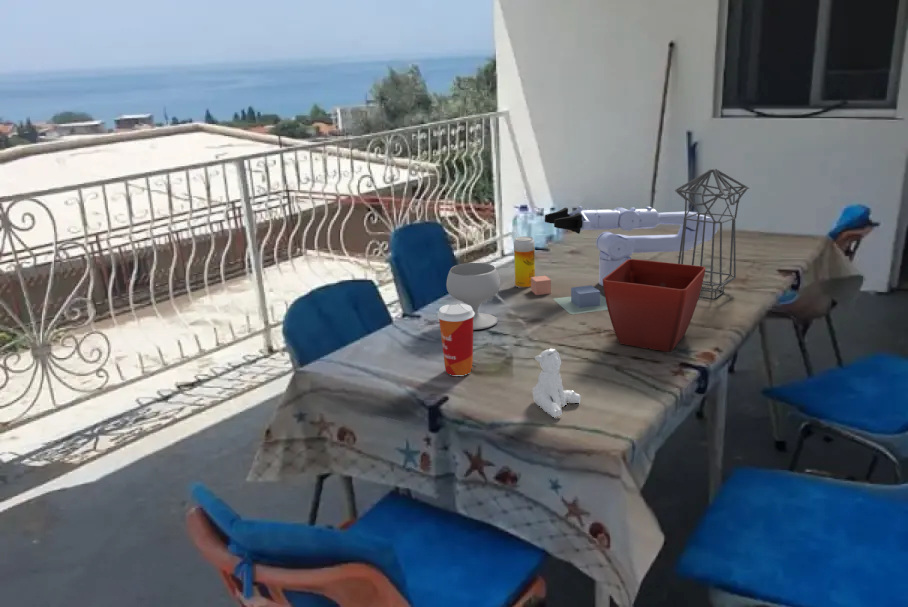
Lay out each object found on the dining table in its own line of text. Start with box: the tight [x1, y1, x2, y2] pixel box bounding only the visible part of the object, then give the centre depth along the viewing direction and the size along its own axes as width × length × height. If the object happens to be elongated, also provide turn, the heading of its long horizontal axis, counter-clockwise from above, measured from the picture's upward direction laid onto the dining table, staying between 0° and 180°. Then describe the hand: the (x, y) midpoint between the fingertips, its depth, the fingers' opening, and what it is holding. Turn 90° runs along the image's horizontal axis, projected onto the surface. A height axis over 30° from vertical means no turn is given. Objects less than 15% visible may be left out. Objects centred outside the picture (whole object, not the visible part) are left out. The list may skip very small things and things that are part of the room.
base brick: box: [570, 284, 601, 308], centre depth 196 cm, size 6×6×4 cm
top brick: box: [530, 275, 552, 296], centre depth 207 cm, size 4×4×5 cm
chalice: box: [445, 262, 501, 331], centre depth 186 cm, size 14×14×15 cm
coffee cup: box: [436, 303, 475, 375], centre depth 157 cm, size 8×8×15 cm
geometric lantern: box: [674, 168, 750, 300], centre depth 196 cm, size 16×16×35 cm
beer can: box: [513, 236, 536, 289], centre depth 213 cm, size 6×6×15 cm
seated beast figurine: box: [531, 348, 582, 419], centre depth 140 cm, size 10×9×12 cm
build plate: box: [552, 293, 608, 315], centre depth 196 cm, size 14×14×1 cm
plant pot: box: [602, 258, 707, 352], centre depth 169 cm, size 19×19×17 cm
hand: (549, 220), depth 201 cm, fingers open, 7 cm apart
